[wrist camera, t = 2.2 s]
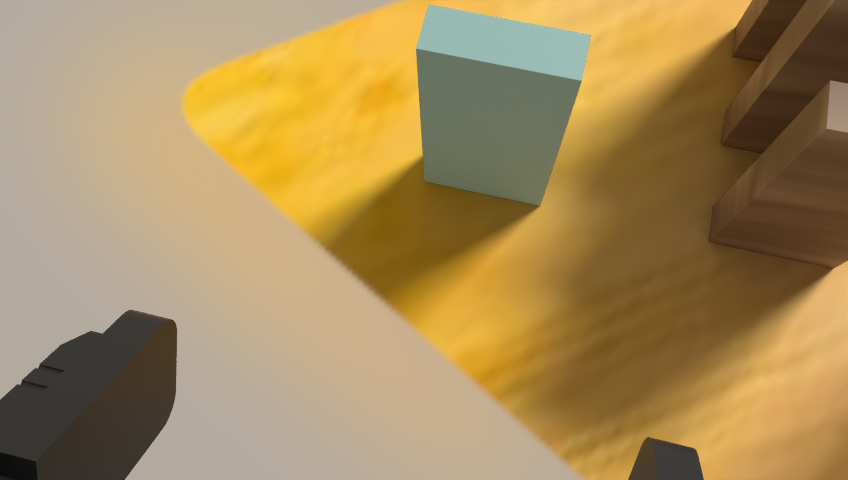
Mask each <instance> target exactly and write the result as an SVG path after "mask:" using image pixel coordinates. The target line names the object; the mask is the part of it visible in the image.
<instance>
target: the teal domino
mask: <svg viewBox="0 0 848 480" xmlns="http://www.w3.org/2000/svg"><path fill="white" fill-rule="evenodd" d="M590 37H591V35H588V34H582V33H577V32H572V31H566V30H561V29H556V28H551V27H545V26H540V25H535V24H529V23H524V22H519V21H513V20H508V19H503V18H497V17H492V16H487V15H482V14H476V13H471V12H466V11H460V10H455V9H450V8H444V7H439V6H434V5H428V8H427V12H426V15H425V19H424V22H423V26H422V30H421V33H420V37H419V40H418V44H417V47H416V54H417V70H418V86H419V102H420V118H421V134H422V150H423V166H424V181H425V182H430V183H435V184H440V185H444V186H449V187H454V188H458V189H463V190H468V191H472V192H477V193H482V194H487V195H491V196H496V197H501V198H505V199H510V200H515V201H519V202H524V203H529V204H534V205H538V206H540V205H541V202H542V199H543V196H544V193H545V190H546V187H547V184H548V181H549V178H550V175H551V172H552V169H553V166H554V163H555V160H556V157H557V154H558V151H559V148H560V145H561V142H562V139H563V136H564V133H565V130H566V127H567V124H568V121H569V118H570V115H571V112H572V109H573V106H574V103H575V100H576V96H577V93H578V90H579V87H580V84H581V81H582V77H583V72H584V67H585V62H586V57H587V52H588V47H589V42H590Z"/></svg>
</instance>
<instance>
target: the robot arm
mask: <svg viewBox="0 0 848 480" xmlns="http://www.w3.org/2000/svg"><path fill="white" fill-rule="evenodd" d="M176 357H177V327H176V323H175V322H174V321H173V320H171V319H167V318H163V317H159V316H155V315H151V314H147V313H143V312H138V311H134V310H128V311H127V312H125V313H124V314H123V315H122V316H121V317H120V318H119V319H117V320H116V321H115V322H114V323H113V324H112V325H111V326H110V327H109V328H108V329H107V330H106V331H105V332H104V333H103V334H101V333H97V332H93V331H90V332H88V333H86V334H83V335H81V336H79V337H77V338H75V339H73V340H70V341H68V342H66V343H64V344H62V345H60V346H59V347H58V348H57V349H56V350H55V351H54V352H53V353H51V354H50V355H49V356H48V357H47V358H46V359H45V360H44V361H43V362H41V363H40V366H39V368H38V369H37V368H35V369H34V370H33V371H32V372H31V373H29V374H28V375H27V376H26V377H25V378H24V379H23V380H22V383H21V385H18V384H17V385H16V386H15V387H14V388H13V389H12V390H11V391H9V392H8V393H7V394H6V395H5V396H4V397H3V398H2V399H1V400H0V480H125V478H126V477H127V476H128V474H129V473H130V472H131V470H132V469H133V468H134V466H135V465H136V464H137V462H138V461H139V460H140V458H141V457H142V456H143V454H144V453H145V452H146V450H147V449H148V448H149V446H150V445H151V444H152V442H153V441H154V440H155V438H156V437H157V436H158V434H159V433H160V431H161V430H162V429H163V427H164V426H165V424H166V422H167V420H168V418H169V416H170V413H171V411H172V408H173V404H174V400H175V394H176ZM628 480H704V479H703V474H702V470H701V466H700V462H699V457H698V454H697V451H696V450H695V449H694V448H691V447H686V446H682V445H678V444H674V443H670V442H666V441H662V440H658V439H654V438H650V437H648V438H646V439H645V440H644V442H643V444H642V446H641V448H640V451H639V453H638V456H637V458H636V461H635V464H634V466H633V469H632V471H631V474H630V476H629V479H628Z"/></svg>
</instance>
